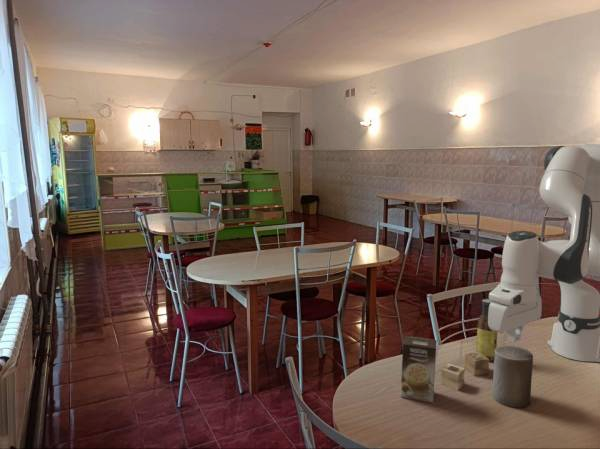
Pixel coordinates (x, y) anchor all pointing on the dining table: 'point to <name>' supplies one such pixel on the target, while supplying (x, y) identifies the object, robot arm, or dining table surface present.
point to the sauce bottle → (486, 334)
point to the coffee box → (418, 368)
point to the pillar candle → (512, 376)
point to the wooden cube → (476, 364)
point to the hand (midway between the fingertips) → (514, 340)
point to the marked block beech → (452, 376)
